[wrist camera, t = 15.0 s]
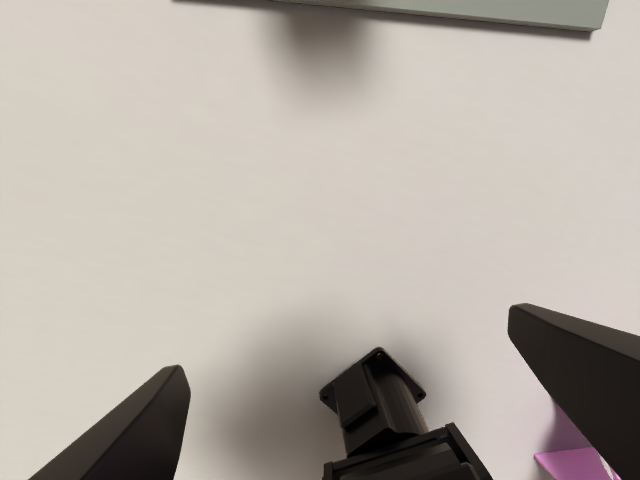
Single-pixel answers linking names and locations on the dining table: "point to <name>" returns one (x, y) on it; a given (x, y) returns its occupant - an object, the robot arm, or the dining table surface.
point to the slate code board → (491, 10)
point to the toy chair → (575, 464)
